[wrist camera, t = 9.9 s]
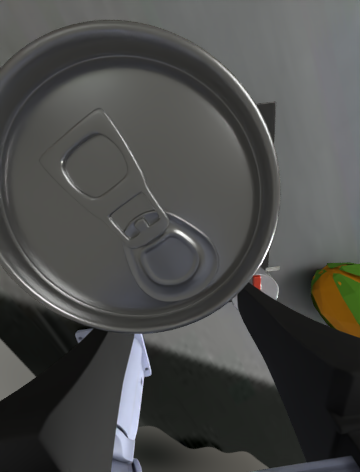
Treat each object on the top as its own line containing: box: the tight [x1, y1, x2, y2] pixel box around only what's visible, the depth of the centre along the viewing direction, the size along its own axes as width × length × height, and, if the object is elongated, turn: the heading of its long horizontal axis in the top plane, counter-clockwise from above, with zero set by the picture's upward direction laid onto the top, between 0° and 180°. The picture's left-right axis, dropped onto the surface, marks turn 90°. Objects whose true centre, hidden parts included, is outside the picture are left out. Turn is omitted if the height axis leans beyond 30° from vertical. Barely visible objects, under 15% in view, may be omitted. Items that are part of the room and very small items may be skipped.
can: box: [0, 20, 281, 334], centre depth 9 cm, size 6×6×12 cm
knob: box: [231, 266, 279, 310], centre depth 16 cm, size 4×4×4 cm
